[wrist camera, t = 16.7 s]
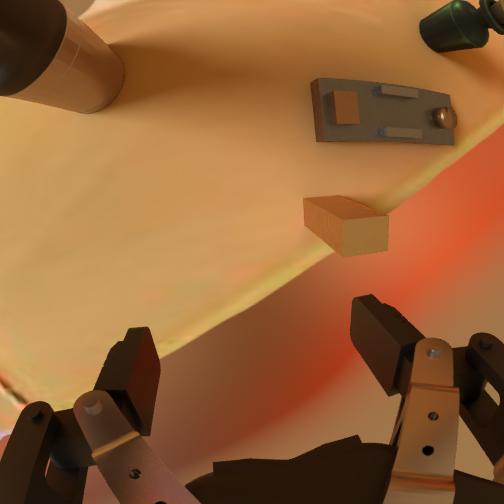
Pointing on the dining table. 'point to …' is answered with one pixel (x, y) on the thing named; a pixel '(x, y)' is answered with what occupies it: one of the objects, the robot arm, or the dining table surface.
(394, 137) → the hand plane
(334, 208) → the wood grain block
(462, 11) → the potion bottle
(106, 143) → the dining table surface
